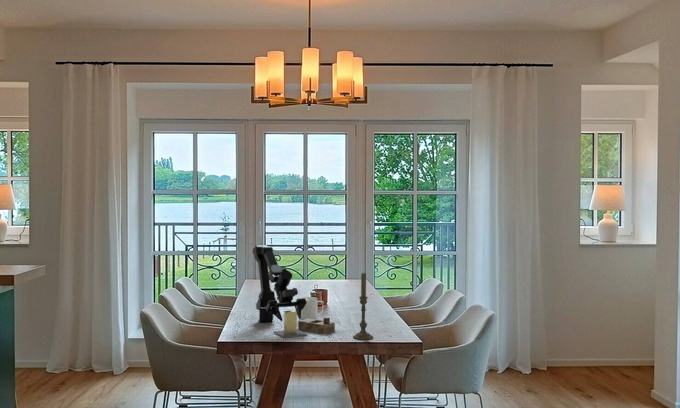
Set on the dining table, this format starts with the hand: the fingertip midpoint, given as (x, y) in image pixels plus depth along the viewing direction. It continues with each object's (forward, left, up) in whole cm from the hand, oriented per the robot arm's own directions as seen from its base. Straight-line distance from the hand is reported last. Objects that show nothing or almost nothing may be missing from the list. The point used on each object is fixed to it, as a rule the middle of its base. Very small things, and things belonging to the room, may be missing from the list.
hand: (291, 319), depth 283 cm
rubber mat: (0, +1, -7) cm, 7 cm away
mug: (+15, +33, -7) cm, 37 cm away
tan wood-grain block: (0, +1, -6) cm, 6 cm away
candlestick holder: (+31, -12, -7) cm, 34 cm away
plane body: (+13, +8, -7) cm, 17 cm away
